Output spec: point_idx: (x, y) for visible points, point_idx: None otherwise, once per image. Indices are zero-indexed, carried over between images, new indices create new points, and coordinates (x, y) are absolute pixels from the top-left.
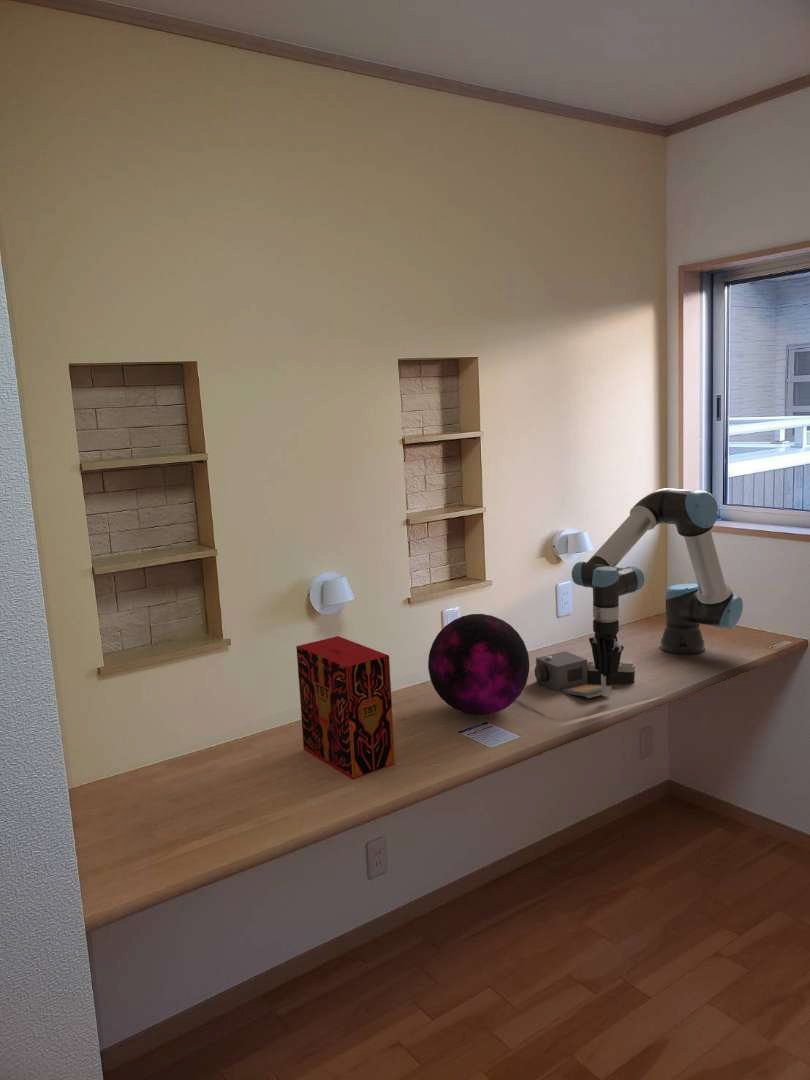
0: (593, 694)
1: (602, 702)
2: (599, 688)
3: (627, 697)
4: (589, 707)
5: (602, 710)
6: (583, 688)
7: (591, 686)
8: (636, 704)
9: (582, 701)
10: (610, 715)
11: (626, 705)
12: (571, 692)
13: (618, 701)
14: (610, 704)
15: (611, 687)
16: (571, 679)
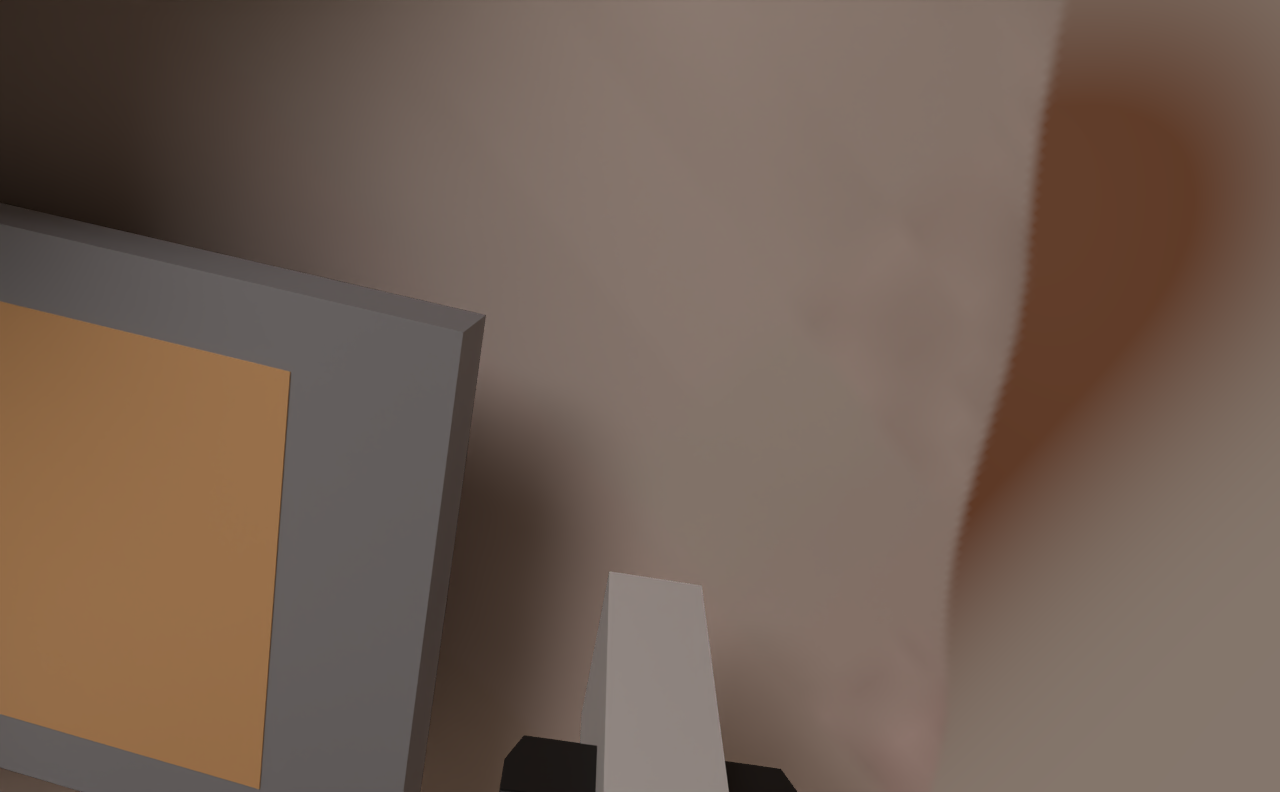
0: (429, 719)
1: (507, 494)
2: (339, 523)
3: (653, 6)
4: None
5: (722, 719)
6: (47, 576)
7: (48, 400)
8: (977, 185)
9: None
10: (917, 776)
11: (872, 339)
12: (31, 756)
13: (663, 286)
14: (654, 476)
15: (468, 329)
16: None
